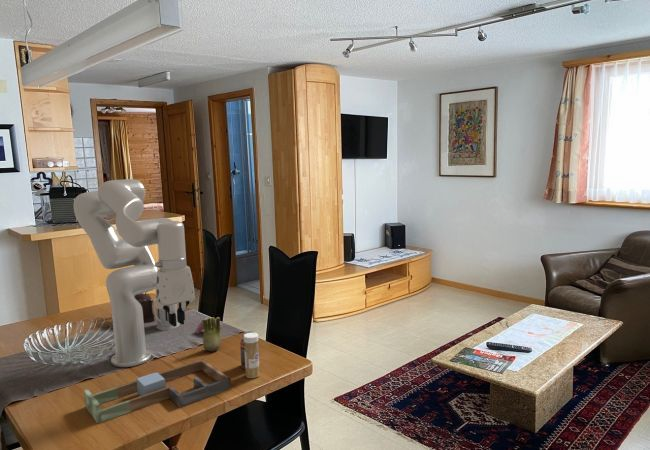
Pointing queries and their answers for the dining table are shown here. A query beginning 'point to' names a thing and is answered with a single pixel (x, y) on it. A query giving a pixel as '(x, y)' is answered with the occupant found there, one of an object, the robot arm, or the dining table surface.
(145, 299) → the brown storage container
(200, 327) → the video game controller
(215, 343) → the fennel bulb
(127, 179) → the robot arm
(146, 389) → the block
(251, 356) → the sprinkles bottle
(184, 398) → the box
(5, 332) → the dining table surface
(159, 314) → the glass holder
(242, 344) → the supplement bottle
